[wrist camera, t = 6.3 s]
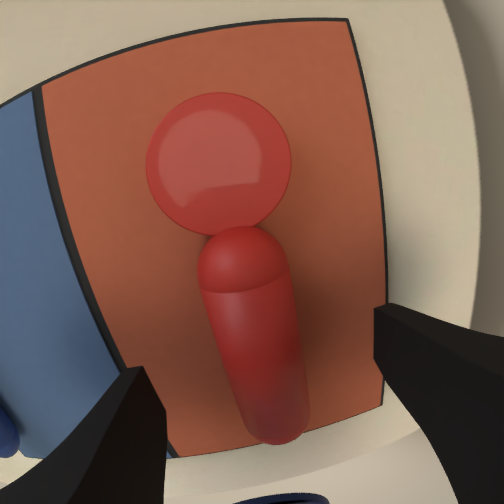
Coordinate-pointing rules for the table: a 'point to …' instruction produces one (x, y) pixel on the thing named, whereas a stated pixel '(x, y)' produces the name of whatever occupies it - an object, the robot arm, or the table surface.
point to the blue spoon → (8, 436)
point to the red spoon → (237, 248)
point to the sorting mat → (182, 233)
